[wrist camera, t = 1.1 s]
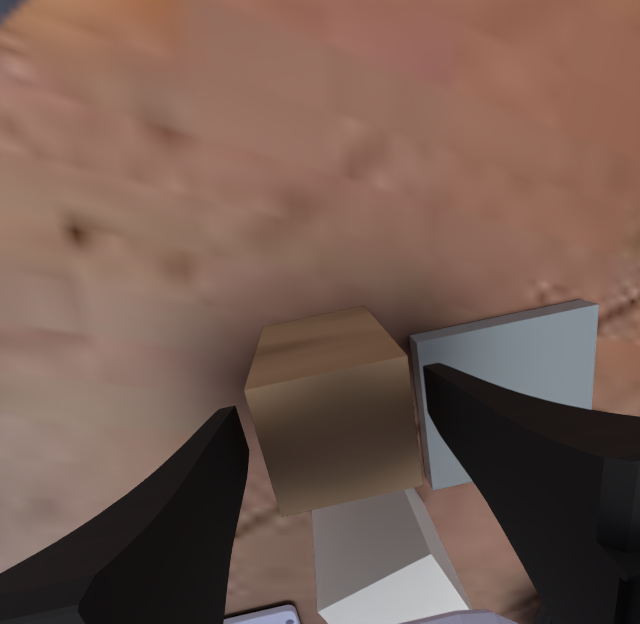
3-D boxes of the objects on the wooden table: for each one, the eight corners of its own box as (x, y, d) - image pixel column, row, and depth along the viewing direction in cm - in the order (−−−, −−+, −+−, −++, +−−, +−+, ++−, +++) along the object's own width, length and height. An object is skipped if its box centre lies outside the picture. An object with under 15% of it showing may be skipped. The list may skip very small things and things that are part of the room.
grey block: (423, 502, 19) (480, 625, 13) (352, 539, 19) (376, 675, 13) (385, 444, 17) (430, 554, 12) (310, 486, 18) (317, 611, 12)
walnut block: (378, 394, 16) (422, 485, 11) (286, 413, 16) (281, 516, 11) (364, 305, 15) (407, 355, 9) (263, 326, 15) (243, 390, 9)
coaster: (572, 443, 18) (588, 455, 17) (425, 476, 18) (432, 490, 17) (580, 299, 16) (598, 304, 15) (409, 335, 16) (416, 342, 15)
